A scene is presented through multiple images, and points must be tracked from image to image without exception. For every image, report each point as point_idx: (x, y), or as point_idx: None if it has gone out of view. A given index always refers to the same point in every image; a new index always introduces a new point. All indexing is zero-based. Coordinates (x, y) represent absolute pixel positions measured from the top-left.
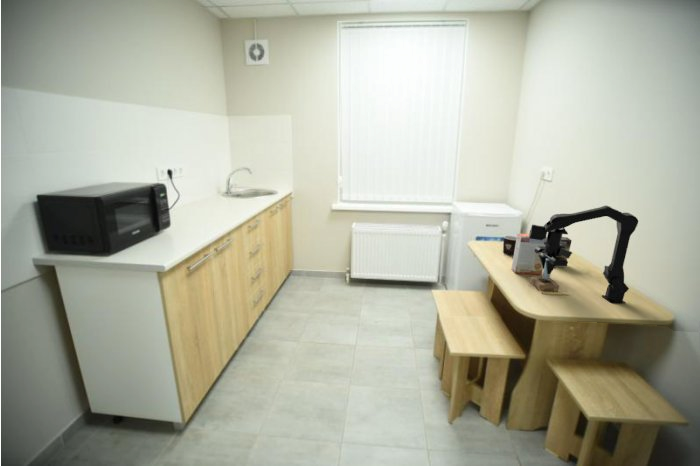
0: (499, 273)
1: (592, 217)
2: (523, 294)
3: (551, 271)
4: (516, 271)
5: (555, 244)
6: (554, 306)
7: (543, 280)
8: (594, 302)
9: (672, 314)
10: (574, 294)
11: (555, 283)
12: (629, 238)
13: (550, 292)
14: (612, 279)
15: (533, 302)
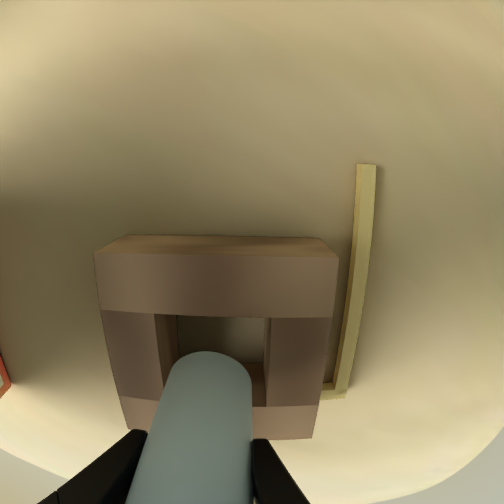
0: (57, 460)
1: None
2: (340, 473)
3: (291, 478)
4: (3, 388)
5: None
6: (487, 368)
7: (163, 343)
8: (463, 51)
9: None
10: (353, 98)
11: (281, 281)
12: None
13: (354, 336)
14: None
15: (428, 447)
